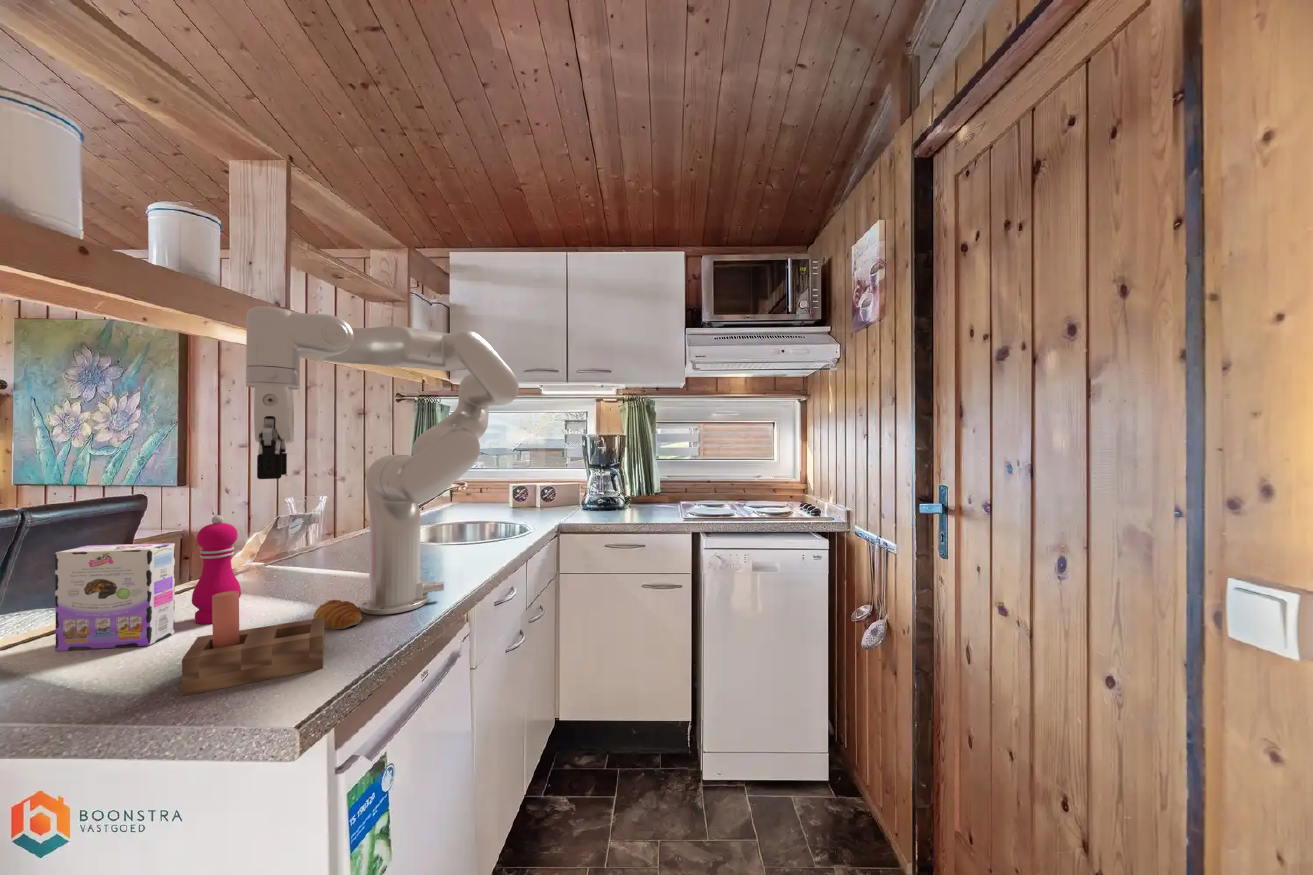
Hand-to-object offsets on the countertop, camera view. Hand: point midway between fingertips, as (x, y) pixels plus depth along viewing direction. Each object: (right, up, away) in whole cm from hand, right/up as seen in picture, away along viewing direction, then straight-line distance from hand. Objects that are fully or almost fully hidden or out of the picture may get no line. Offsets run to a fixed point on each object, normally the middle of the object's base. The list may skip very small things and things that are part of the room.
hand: (272, 476), depth 88 cm
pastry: (+7, -29, +8) cm, 31 cm away
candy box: (-25, -28, -2) cm, 38 cm away
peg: (+4, -26, -14) cm, 30 cm away
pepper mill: (-18, -28, +9) cm, 35 cm away
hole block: (+7, -28, -12) cm, 32 cm away
